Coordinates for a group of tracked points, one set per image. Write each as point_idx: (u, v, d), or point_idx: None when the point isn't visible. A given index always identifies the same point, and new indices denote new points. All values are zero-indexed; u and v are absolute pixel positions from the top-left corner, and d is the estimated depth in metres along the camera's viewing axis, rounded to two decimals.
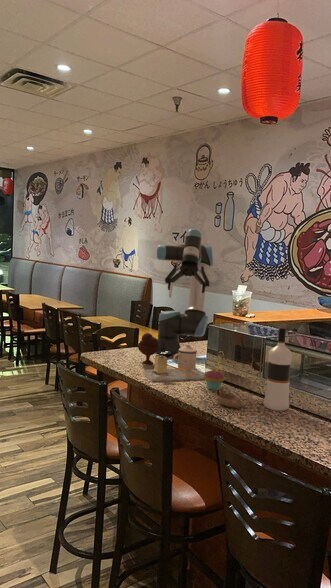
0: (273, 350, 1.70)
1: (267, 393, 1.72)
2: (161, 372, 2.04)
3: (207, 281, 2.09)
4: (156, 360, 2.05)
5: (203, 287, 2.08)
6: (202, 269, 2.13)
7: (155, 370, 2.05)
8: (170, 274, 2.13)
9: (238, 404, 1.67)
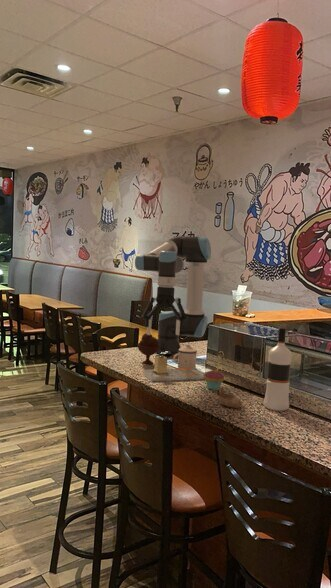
0: (273, 350, 1.70)
1: (267, 393, 1.72)
2: (161, 372, 2.04)
3: (184, 316, 2.06)
4: (156, 360, 2.05)
5: (180, 322, 2.06)
6: (179, 302, 2.05)
7: (155, 370, 2.05)
8: (148, 310, 2.00)
9: (238, 404, 1.67)
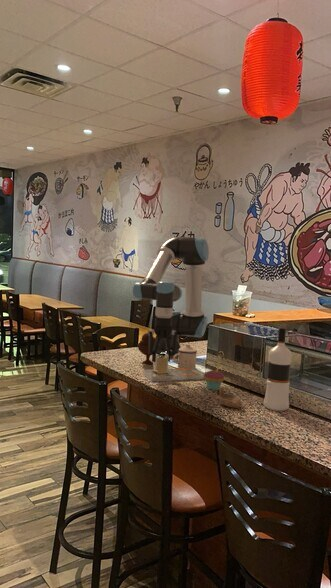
0: (273, 350, 1.70)
1: (267, 393, 1.72)
2: (161, 372, 2.04)
3: (173, 350, 2.06)
4: None
5: (169, 357, 2.06)
6: (175, 335, 2.05)
7: (155, 370, 2.05)
8: (151, 344, 2.02)
9: (238, 404, 1.67)
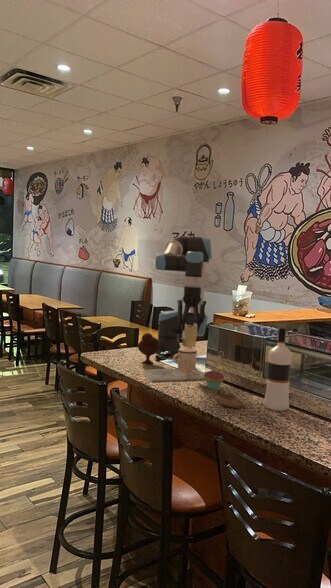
0: (273, 350, 1.70)
1: (267, 393, 1.72)
2: (190, 341, 2.07)
3: (202, 319, 2.09)
4: None
5: (197, 326, 2.09)
6: (204, 304, 2.09)
7: (184, 339, 2.09)
8: (181, 313, 2.05)
9: (238, 404, 1.67)
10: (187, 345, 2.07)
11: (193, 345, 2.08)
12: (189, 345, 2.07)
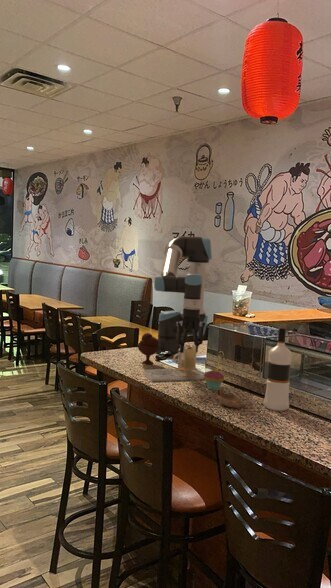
0: (273, 350, 1.70)
1: (267, 393, 1.72)
2: (189, 362, 2.08)
3: (201, 341, 2.10)
4: None
5: (196, 348, 2.10)
6: (202, 326, 2.09)
7: (183, 361, 2.09)
8: (180, 335, 2.06)
9: (238, 404, 1.67)
10: (186, 367, 2.07)
11: (192, 367, 2.08)
12: (188, 367, 2.08)
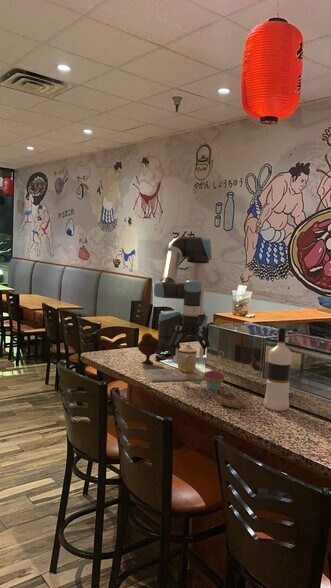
0: (273, 350, 1.70)
1: (267, 393, 1.72)
2: (188, 371, 2.08)
3: (207, 344, 2.11)
4: (183, 359, 2.09)
5: (204, 350, 2.11)
6: (204, 330, 2.10)
7: (182, 370, 2.10)
8: (174, 339, 2.06)
9: (238, 404, 1.67)
10: None
11: None
12: None
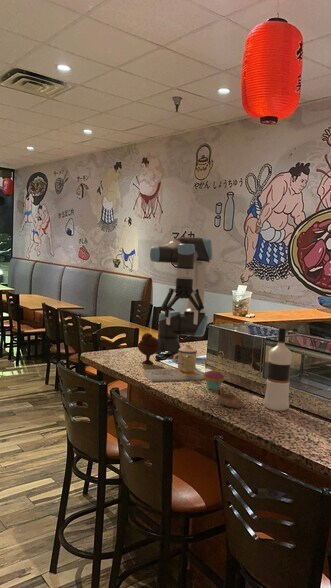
0: (273, 350, 1.70)
1: (267, 393, 1.72)
2: (188, 371, 2.08)
3: (202, 306, 2.14)
4: (183, 359, 2.09)
5: (198, 312, 2.14)
6: (197, 292, 2.12)
7: (182, 370, 2.10)
8: (168, 301, 2.07)
9: (238, 404, 1.67)
10: None
11: None
12: None
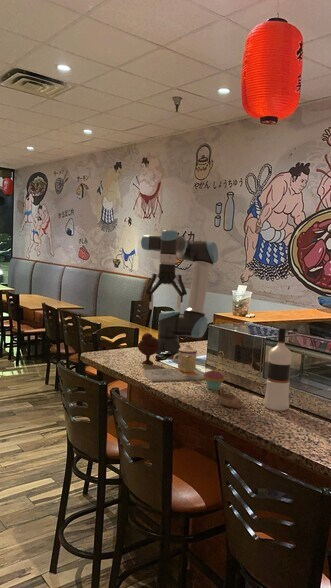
0: (273, 350, 1.70)
1: (267, 393, 1.72)
2: (188, 371, 2.08)
3: (185, 292, 2.19)
4: (183, 359, 2.09)
5: (181, 298, 2.19)
6: (180, 278, 2.17)
7: (182, 370, 2.10)
8: (150, 286, 2.13)
9: (238, 404, 1.67)
10: None
11: None
12: None
